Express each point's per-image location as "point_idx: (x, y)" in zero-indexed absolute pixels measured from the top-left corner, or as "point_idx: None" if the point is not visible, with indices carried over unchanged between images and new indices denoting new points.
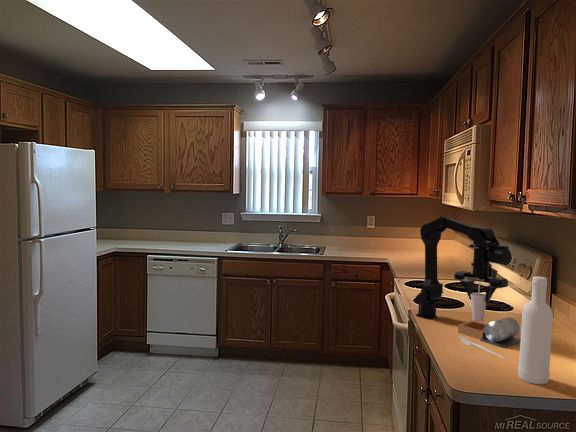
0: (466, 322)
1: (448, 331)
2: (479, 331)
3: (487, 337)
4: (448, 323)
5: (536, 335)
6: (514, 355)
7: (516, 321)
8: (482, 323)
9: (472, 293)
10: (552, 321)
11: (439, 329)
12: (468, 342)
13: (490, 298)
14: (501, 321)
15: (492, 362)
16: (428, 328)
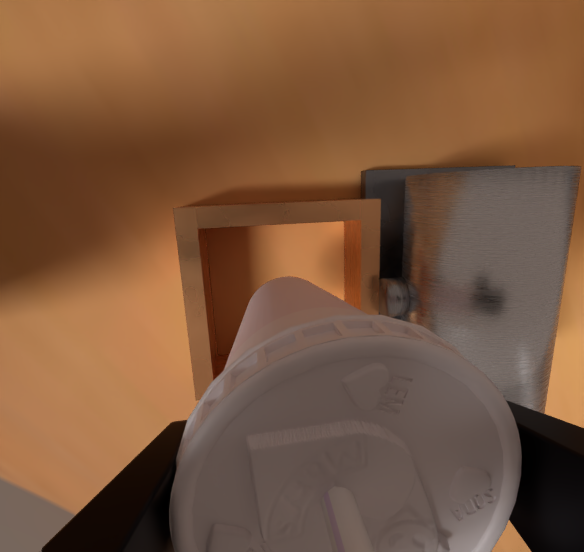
0: (184, 299)
1: (160, 405)
2: None
3: None
4: (17, 263)
5: None
6: (547, 404)
7: (579, 177)
8: (264, 206)
9: (191, 533)
10: None
11: (104, 424)
12: None
13: (553, 427)
14: (534, 364)
15: (517, 538)
16: (58, 468)
